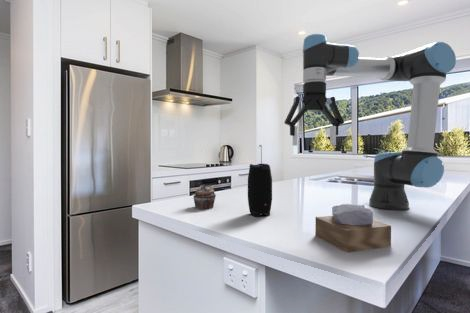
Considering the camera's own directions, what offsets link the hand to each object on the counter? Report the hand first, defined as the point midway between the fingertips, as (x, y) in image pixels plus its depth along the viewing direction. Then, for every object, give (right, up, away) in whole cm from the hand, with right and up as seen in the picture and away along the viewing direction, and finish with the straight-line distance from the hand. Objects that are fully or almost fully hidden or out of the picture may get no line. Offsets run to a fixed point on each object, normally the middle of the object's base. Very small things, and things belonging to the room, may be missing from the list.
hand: (314, 145), depth 99 cm
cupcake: (-40, -26, +26) cm, 55 cm away
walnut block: (+6, -28, -17) cm, 33 cm away
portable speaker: (-17, -27, +13) cm, 34 cm away
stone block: (+6, -22, -16) cm, 28 cm away
